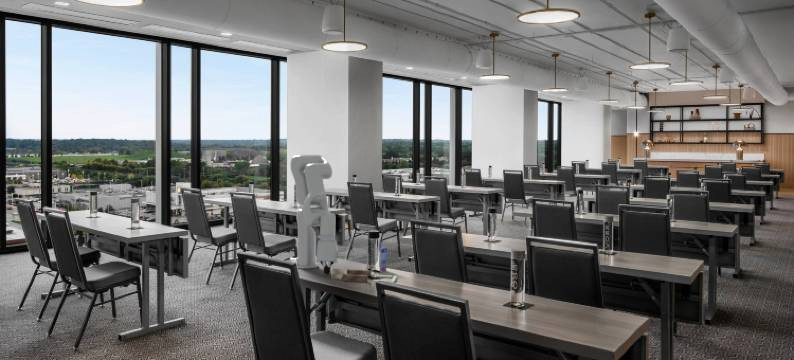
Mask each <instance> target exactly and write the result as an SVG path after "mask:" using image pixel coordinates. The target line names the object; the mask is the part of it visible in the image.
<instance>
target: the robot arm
mask: <svg viewBox="0 0 794 360" xmlns="http://www.w3.org/2000/svg"><path fill="white" fill-rule="evenodd" d="M290 171H291V174H292V176H293V177H292V178H293V179H294V185H295V193H296V199H297V203H298V205H300V206H302V208H300V209H298V210H297V212H296V223H297V257H295V258H294V257H290V258H289V261H297V266H298V268H297V269H303V270H304V268H305V269H306V270H307V269H316V268H318V267H319V264H320V265H322V266H323V273H324V275H325V276H328V275H330V274H331V267H332V265H334V264H335V265H336V264H338V262H339V253H338V252H339V250H338V241H337V240H336V224H337V223H336V214H335V213H332V212H331V211H330V210H329V204H328V197H327V196H328V195H327V193H326V191H325V186H324V185H325V184H324V180H329V179H330V178H332V175H333V170H332V166H331V165H330V162H328V161H327V160H326V158H325V157H324V156H322V155H320V154H298V155H293V157H292V158H291V159H290ZM311 206H315V207H311ZM313 227H319V229H320V230H319V234H318V235H317V234H316V233H317V232H316V231H315V230H314V228H313ZM317 239H319V240H318V242H316V241H317Z"/></svg>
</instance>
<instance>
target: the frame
mask: <svg viewBox="0 0 794 360" xmlns="http://www.w3.org/2000/svg"><path fill="white" fill-rule="evenodd" d="M376 276H377V277H376ZM375 277H376V278H379V279H373V280H372V282H373V283H375V282H376V281H387V282H390V283H391V282H393V283H394V284H395V282H396V281H397V277H398V275H393V274H392V275H391V274H390V275H389V274H388V275H387V274H376V275H375ZM380 278H381V279H382V280H381V279H380ZM385 278H386V279H391V280H385ZM375 284H376V283H375Z"/></svg>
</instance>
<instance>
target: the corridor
mask: <svg viewBox="0 0 794 360" xmlns="http://www.w3.org/2000/svg"><path fill="white" fill-rule="evenodd" d="M368 276H372V270H368V269H350V268H347V269H346V274H345V273H343V277H342V282H359V283H368V280H369V279H368V278H369V277H368Z"/></svg>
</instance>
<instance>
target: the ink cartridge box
mask: <svg viewBox="0 0 794 360" xmlns="http://www.w3.org/2000/svg"><path fill="white" fill-rule="evenodd" d="M379 243H380V244H379V246H380V271H382V272H386V271H387V264H388V262H387V259H388V258H387V257H388V248H387V247H382V244H383V243H381V242H379ZM368 247H369V246H367V247H366V248H367V249H366V269H365V270H368Z"/></svg>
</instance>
